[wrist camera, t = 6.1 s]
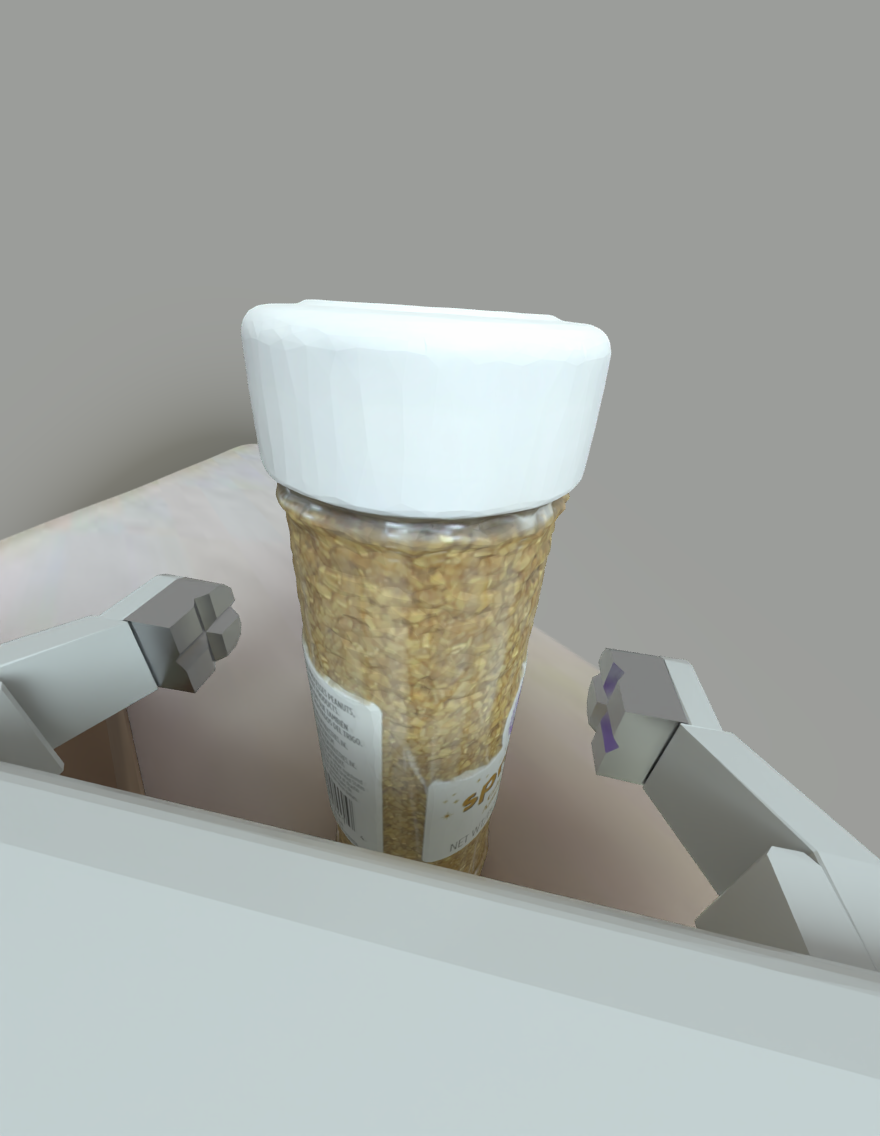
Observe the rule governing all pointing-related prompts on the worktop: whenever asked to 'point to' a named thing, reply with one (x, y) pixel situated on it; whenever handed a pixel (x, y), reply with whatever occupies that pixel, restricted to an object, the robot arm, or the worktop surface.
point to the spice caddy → (104, 755)
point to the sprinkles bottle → (419, 540)
